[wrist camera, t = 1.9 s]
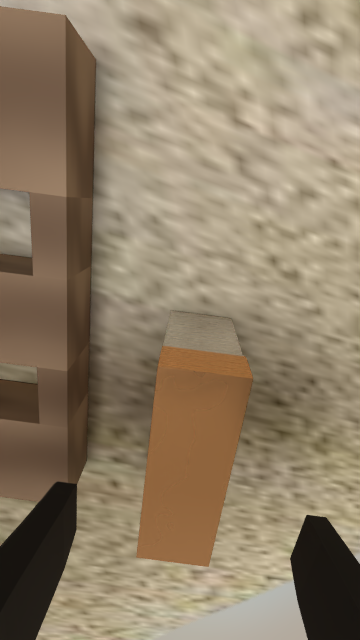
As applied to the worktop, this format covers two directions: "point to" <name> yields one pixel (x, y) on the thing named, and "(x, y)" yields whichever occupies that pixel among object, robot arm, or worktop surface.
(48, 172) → the brown wooden peg board
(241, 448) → the worktop surface
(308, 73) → the worktop surface
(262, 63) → the worktop surface
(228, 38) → the worktop surface
